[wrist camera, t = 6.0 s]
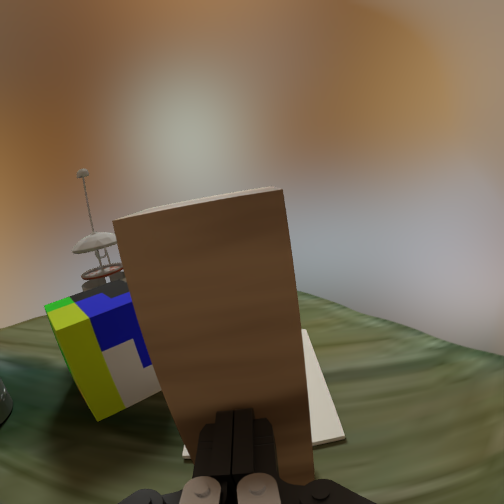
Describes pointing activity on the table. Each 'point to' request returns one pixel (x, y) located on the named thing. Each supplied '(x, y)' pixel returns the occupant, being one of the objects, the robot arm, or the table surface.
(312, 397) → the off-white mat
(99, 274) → the french press
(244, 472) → the robot arm
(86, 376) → the puzzle toy
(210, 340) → the walnut block
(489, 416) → the table surface
